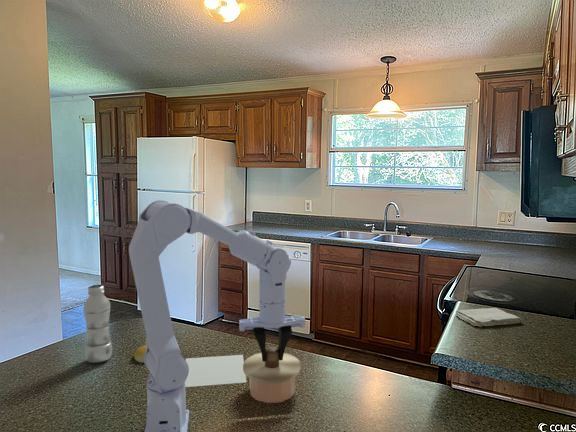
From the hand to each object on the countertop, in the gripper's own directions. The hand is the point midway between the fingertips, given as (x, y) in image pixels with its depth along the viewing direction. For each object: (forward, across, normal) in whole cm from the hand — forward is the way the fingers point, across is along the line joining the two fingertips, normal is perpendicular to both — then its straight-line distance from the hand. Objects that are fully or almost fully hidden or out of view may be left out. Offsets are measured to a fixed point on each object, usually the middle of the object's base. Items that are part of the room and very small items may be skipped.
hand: (272, 359), depth 95 cm
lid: (+2, 0, 0) cm, 2 cm away
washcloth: (+9, -78, -35) cm, 86 cm away
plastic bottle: (+8, +43, -23) cm, 49 cm away
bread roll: (+8, +30, -23) cm, 39 cm away
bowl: (+8, 0, 0) cm, 8 cm away
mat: (+8, +13, -12) cm, 19 cm away
